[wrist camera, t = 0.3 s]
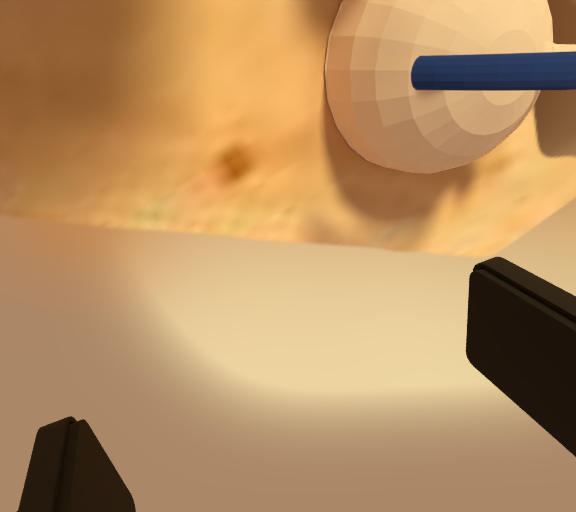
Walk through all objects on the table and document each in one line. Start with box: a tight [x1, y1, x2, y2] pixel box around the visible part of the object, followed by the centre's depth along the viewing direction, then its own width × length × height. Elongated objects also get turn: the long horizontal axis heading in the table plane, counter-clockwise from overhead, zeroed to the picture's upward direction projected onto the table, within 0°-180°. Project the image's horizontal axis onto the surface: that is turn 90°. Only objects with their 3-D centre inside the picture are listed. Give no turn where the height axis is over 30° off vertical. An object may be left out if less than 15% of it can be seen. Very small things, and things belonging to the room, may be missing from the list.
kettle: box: [325, 0, 576, 174], centre depth 33 cm, size 20×21×18 cm
